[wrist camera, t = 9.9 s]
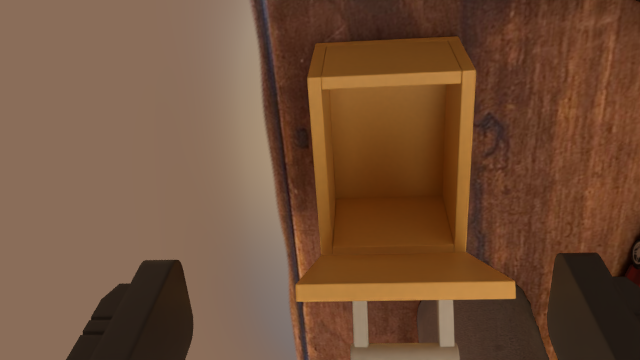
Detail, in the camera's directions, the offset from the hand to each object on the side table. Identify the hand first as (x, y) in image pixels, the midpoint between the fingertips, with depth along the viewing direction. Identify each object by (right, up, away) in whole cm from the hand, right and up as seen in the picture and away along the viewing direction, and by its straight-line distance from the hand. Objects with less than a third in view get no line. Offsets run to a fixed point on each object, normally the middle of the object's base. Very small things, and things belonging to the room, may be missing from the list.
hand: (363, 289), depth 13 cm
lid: (+3, -2, +20) cm, 20 cm away
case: (+4, +6, +31) cm, 31 cm away
